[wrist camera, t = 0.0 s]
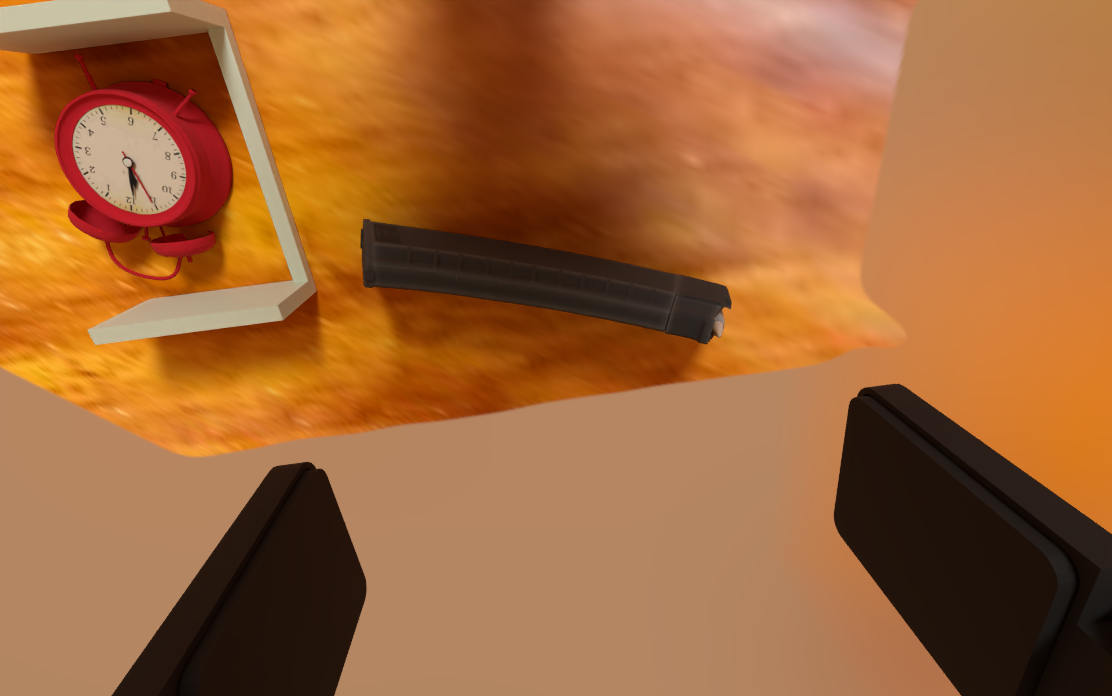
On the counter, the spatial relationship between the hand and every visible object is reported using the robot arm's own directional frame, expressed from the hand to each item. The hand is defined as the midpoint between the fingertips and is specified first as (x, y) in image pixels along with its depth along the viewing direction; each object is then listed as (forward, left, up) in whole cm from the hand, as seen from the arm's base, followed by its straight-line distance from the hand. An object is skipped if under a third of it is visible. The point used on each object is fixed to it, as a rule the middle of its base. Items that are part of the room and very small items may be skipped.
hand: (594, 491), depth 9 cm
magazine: (+6, 0, -37) cm, 38 cm away
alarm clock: (-5, -29, -37) cm, 47 cm away
